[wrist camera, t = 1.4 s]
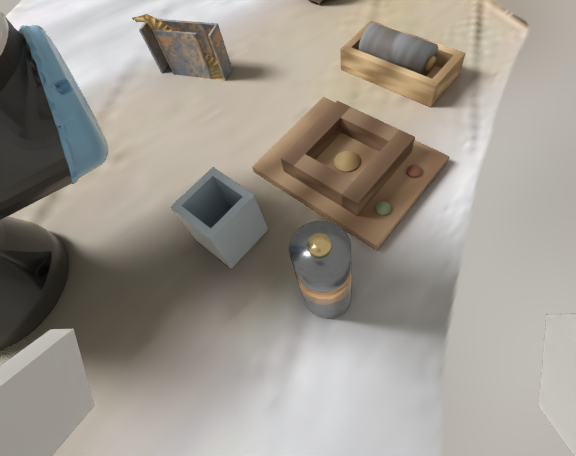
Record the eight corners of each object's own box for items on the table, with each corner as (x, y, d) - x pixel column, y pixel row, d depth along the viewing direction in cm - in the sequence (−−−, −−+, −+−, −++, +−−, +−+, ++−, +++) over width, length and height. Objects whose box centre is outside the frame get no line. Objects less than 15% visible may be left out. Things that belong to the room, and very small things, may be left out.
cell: (294, 299, 38) (274, 249, 28) (323, 265, 39) (314, 206, 29) (332, 328, 36) (324, 286, 26) (361, 291, 37) (364, 237, 27)
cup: (195, 239, 43) (170, 207, 37) (231, 203, 45) (213, 167, 39) (231, 269, 41) (210, 239, 35) (268, 229, 42) (254, 194, 36)
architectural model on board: (161, 77, 59) (130, 17, 51) (170, 64, 61) (141, 4, 52) (225, 85, 56) (203, 23, 48) (233, 71, 58) (212, 8, 49)
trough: (341, 69, 54) (340, 35, 49) (370, 41, 56) (371, 6, 51) (430, 107, 48) (438, 72, 43) (459, 74, 50) (469, 38, 45)
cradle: (253, 171, 47) (247, 153, 44) (323, 102, 51) (322, 81, 48) (376, 250, 39) (378, 234, 36) (447, 162, 43) (454, 141, 40)
